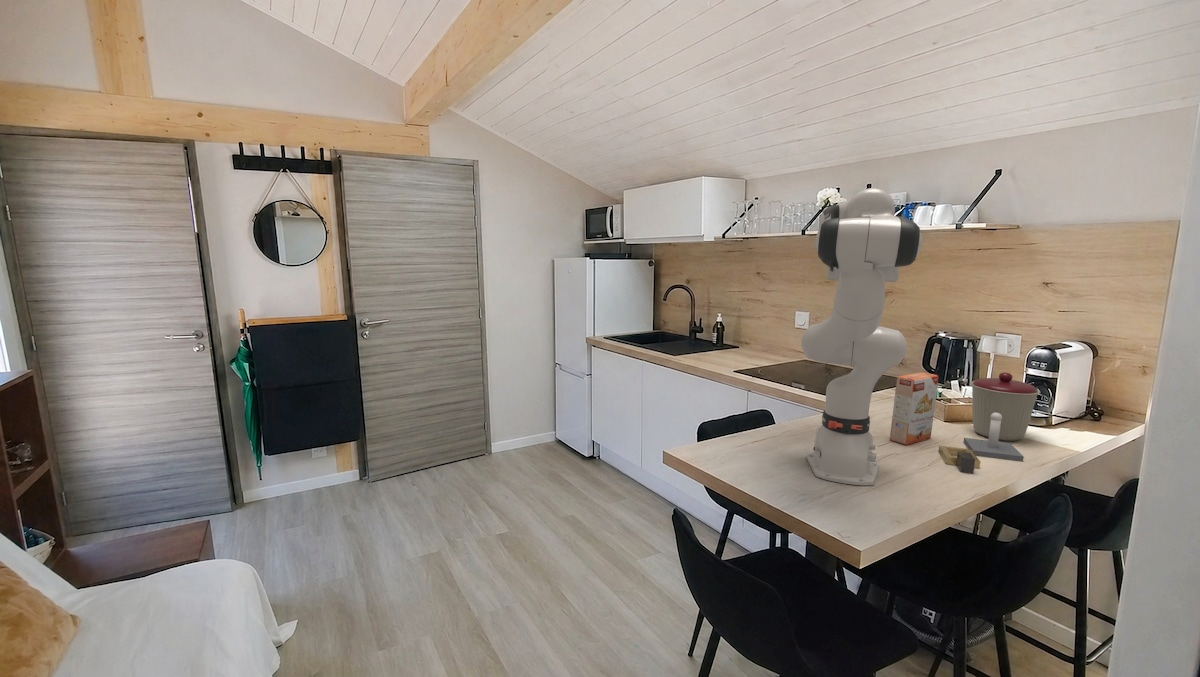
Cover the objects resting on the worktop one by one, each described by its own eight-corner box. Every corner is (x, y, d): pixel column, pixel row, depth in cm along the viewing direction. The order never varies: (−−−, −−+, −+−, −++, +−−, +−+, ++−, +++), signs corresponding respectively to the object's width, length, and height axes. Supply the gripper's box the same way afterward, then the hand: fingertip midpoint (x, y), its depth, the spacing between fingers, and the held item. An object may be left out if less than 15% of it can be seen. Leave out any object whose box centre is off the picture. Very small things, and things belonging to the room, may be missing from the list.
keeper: (1023, 461, 154) (1028, 421, 152) (973, 455, 158) (978, 415, 156) (1009, 447, 164) (1014, 409, 163) (963, 442, 169) (967, 405, 167)
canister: (1048, 444, 168) (1058, 378, 165) (997, 446, 165) (1006, 379, 162) (997, 425, 186) (1005, 366, 182) (951, 428, 183) (958, 367, 180)
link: (938, 451, 160) (939, 439, 160) (970, 455, 157) (971, 442, 157) (949, 470, 147) (951, 456, 146) (984, 475, 144) (986, 460, 143)
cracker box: (907, 446, 165) (915, 379, 161) (888, 440, 170) (895, 375, 166) (932, 438, 172) (940, 374, 169) (913, 433, 177) (920, 371, 174)
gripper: (827, 250, 168) (824, 295, 170) (901, 251, 161) (897, 297, 163) (827, 251, 174) (823, 293, 176) (898, 251, 167) (894, 296, 169)
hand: (859, 295), depth 169 cm, fingers open, 8 cm apart
